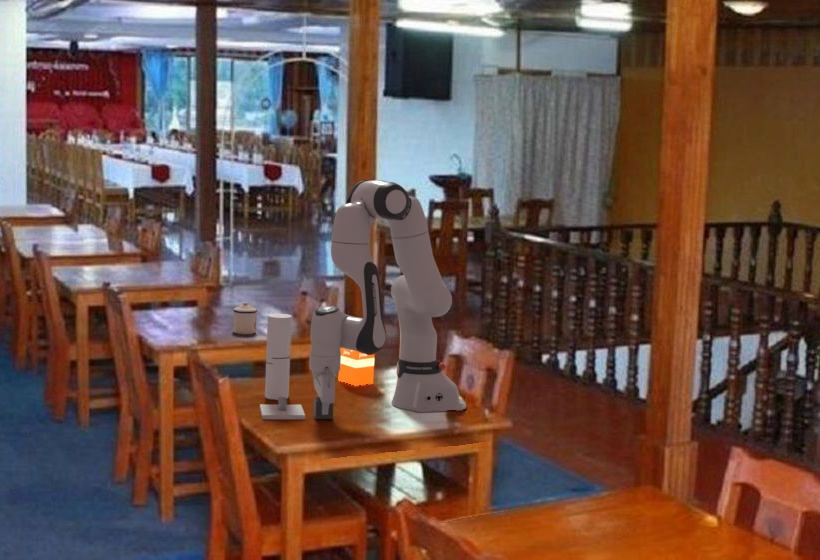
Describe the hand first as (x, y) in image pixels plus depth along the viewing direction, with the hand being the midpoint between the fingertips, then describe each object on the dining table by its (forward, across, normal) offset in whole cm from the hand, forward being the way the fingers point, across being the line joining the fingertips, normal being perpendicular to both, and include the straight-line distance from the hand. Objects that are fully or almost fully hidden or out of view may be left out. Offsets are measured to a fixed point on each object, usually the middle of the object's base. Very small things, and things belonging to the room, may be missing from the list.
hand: (323, 411), depth 343 cm
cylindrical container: (+2, +24, +11) cm, 27 cm away
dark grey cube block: (+2, 0, 0) cm, 2 cm away
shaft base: (+2, +4, +11) cm, 12 cm away
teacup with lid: (+2, +127, +15) cm, 128 cm away
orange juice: (+2, +44, -16) cm, 47 cm away
